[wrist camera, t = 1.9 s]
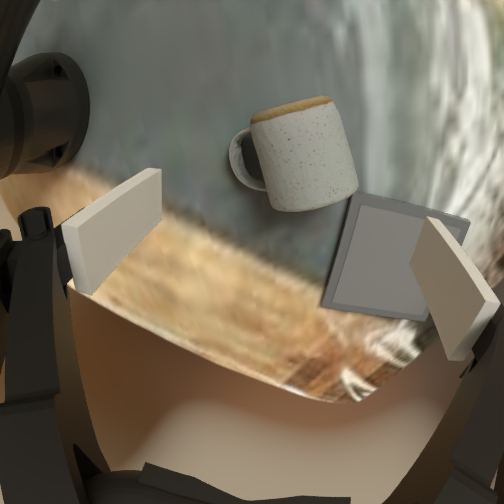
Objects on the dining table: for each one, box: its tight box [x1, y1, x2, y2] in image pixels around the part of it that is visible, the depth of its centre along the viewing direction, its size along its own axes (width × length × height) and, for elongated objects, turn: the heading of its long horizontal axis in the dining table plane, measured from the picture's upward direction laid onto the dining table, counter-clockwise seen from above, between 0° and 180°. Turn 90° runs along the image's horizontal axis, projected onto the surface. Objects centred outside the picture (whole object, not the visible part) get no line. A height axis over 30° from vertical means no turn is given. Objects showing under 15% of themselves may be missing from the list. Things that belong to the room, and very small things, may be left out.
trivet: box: [321, 191, 471, 322], centre depth 31 cm, size 14×14×1 cm
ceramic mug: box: [229, 95, 359, 212], centre depth 24 cm, size 11×8×8 cm
